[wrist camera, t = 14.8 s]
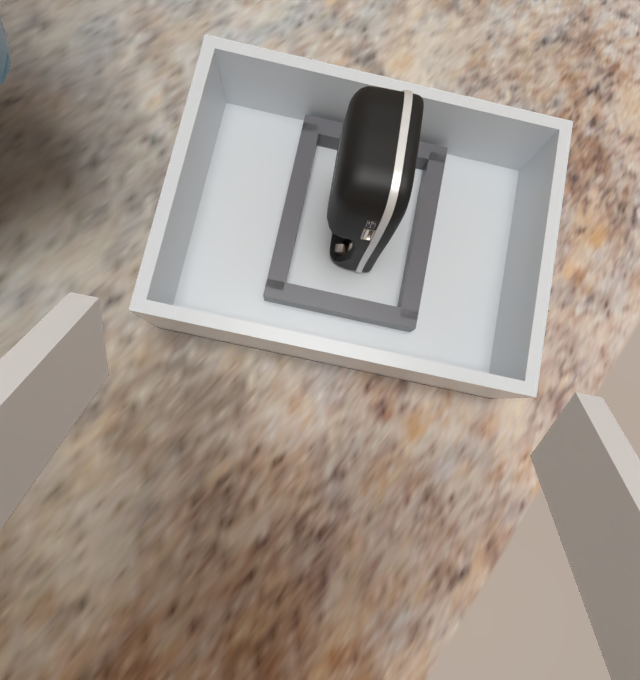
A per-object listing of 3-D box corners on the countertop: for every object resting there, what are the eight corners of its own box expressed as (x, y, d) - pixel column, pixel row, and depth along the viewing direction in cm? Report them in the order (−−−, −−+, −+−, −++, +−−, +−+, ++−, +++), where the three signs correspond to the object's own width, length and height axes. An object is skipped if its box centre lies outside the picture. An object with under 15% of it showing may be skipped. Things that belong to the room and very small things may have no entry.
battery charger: (331, 177, 33) (353, 61, 22) (382, 186, 34) (430, 76, 22) (316, 268, 32) (330, 195, 21) (369, 278, 32) (411, 210, 21)
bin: (158, 327, 32) (128, 309, 26) (219, 97, 35) (205, 34, 29) (491, 398, 33) (536, 397, 27) (525, 168, 35) (573, 121, 29)
